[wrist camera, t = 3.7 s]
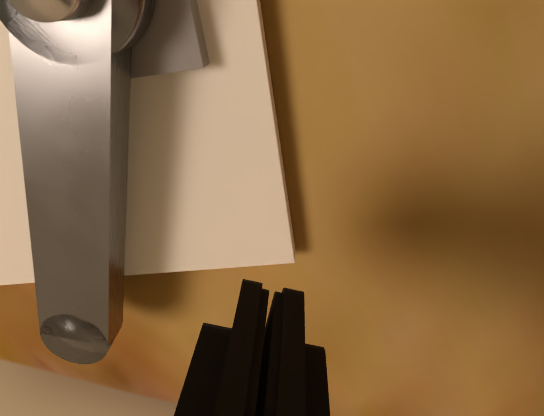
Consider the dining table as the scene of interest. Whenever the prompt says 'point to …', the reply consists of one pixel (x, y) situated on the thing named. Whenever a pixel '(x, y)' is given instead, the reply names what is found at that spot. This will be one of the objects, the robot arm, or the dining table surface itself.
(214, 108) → the hinge board
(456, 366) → the dining table surface
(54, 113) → the link
